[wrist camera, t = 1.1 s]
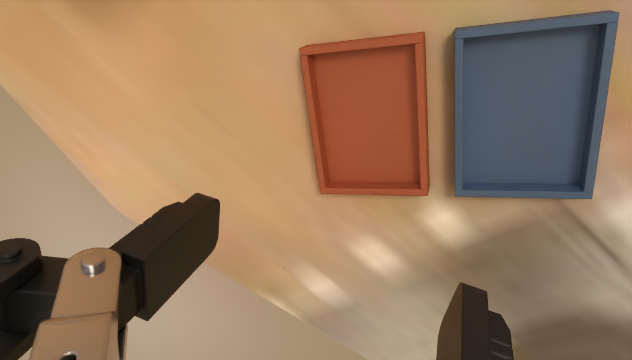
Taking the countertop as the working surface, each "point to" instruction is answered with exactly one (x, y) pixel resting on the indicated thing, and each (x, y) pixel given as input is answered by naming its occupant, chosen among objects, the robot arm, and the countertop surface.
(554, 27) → the slate tray
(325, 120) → the terracotta tray
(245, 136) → the countertop surface
